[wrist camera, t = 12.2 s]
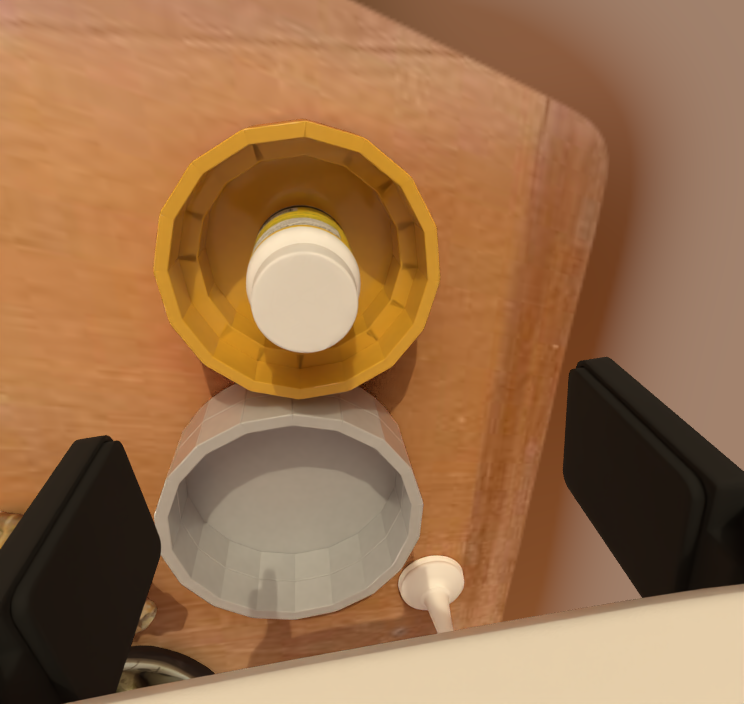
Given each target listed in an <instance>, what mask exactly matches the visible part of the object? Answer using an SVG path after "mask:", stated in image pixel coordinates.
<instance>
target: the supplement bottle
mask: <svg viewBox="0 0 744 704" xmlns="http://www.w3.org/2000/svg"><path fill="white" fill-rule="evenodd" d="M360 286H361V280H360V272H359V268H358V265H357V262H356V259H355V257H354V255H353V252H352V250H351V247H350V245H349V243H348V241H347V238H346V236H345V233H344V232H343V230H342V228H341V226H340V225H339V224H338V222H337V221H336V220H335V219H334V218H333V217H332V216H331V215H329V214H328V213H326V212H325V211H323V210H321V209H319V208H316V207H313V206H308V205H293V206H289V207H285V208H283V209H280V210H278V211H277V212H275V213H274V214H272V215H271V216H270V217H269V218H268V219H267V220H266V221H265V222H264V223H263V225H262V226H261V228H260V230H259V232H258V234H257V237H256V241H255V245H254V248H253V251H252V254H251V257H250V260H249V264H248V269H247V274H246V292H247V296H248V300H249V303H250V305H251V310H252V314H253V317H254V320H255V322H256V324H257V326H258V328H259V329H260V331H261V332H262V333H263V334H264V336H265V337H266V338H267V339H269V340H270V341H271V342H272V343H274V344H275V345H277V346H279V347H281V348H283V349H286V350H289V351H293V352H298V353H312V352H318V351H322V350H324V349H327V348H329V347H331V346H333V345H335V344H336V343H338V342H339V341H340V340H341V339H342V338H344V336H345V335H346V334H347V333H348V332H349V330H350V329H351V327H352V326H353V323H354V321H355V319H356V316H357V311H358V299H359V294H360Z"/></svg>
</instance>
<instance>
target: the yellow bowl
mask: <svg viewBox="0 0 744 704" xmlns="http://www.w3.org/2000/svg"><path fill="white" fill-rule="evenodd" d="M293 205H308V206H313V207H316V208H319V209H321V210H323V211H325V212H326V213H328V214H329V215H331V216H332V217H333V218H334V219H335V220H336V221H337V222H338V224H339V225H340V226H341V228H342V230H343V232H344V233H345V236H346V238H347V241H348V243H349V245H350V247H351V250H352V252H353V255H354V257H355V259H356V262H357V265H358V268H359V272H360V280H361V286H360V294H359V299H358V311H357V316H356V319H355V321H354V323H353V326H352V327H351V329H350V330H349V332H348V333H347V334H346V335H345V336H344V338H342V339H341V340H340V341H339V342H338V343H336V344H335V345H333V346H331V347H329V348H327V349H324V350H322V351H318V352H312V353H298V352H293V351H289V350H286V349H283V348H281V347H279V346H277V345H275V344H274V343H272V342H271V341H270V340H269V339H267V338H266V337H265V336H264V334H263V333H262V332H261V331H260V329H259V328H258V326H257V324H256V322H255V320H254V317H253V314H252V310H251V305H250V303H249V300H248V296H247V292H246V274H247V269H248V264H249V260H250V257H251V254H252V251H253V248H254V245H255V241H256V237H257V234H258V232H259V230H260V228H261V226H262V225H263V223H264V222H265V221H266V220H267V219H268V218H269V217H270V216H271V215H272V214H274V213H275V212H277V211H278V210H280V209H283V208H285V207H289V206H293ZM153 270H154V276H155V279H156V282H157V285H158V288H159V291H160V295H161V298H162V301H163V304H164V307H165V310H166V314H167V317H168V320H169V323H171V326H172V327H173V328H174V329H175V331H176V332H177V333H178V334H179V335H180V337H181V338H182V339H183V340H184V341H185V343H186V344H187V345H188V346H189V347H190V349H191V350H192V351H193V352H194V353H195V355H196V356H197V357H198V358H199V359H200V361H201V362H202V363H203V364H204V365H205V366H207V367H208V368H210V369H212V370H214V371H215V372H217V373H219V374H221V375H223V376H224V377H226V378H228V379H230V380H231V381H233V382H235V383H237V384H239V385H240V386H242V387H244V388H246V389H247V390H250V391H252V392H258V393H264V394H270V395H275V396H281V397H287V398H293V399H306V398H312V397H318V396H324V395H329V394H335V393H341V392H347V391H349V390H352V389H354V388H356V387H357V386H359V385H361V384H363V383H365V382H366V381H368V380H370V379H372V378H373V377H375V376H377V375H379V374H380V373H382V372H384V371H386V370H387V369H389V368H391V367H392V366H393V365H394V364H395V363H396V362H397V361H398V360H399V358H400V357H401V356H402V355H403V354H404V352H405V351H406V350H407V349H408V348H409V346H410V345H411V344H412V343H413V342H414V340H415V339H416V338H417V337H418V336H419V334H420V333H421V332H422V331H423V330H424V328H425V325H426V322H427V319H428V316H429V313H430V310H431V307H432V304H433V301H434V298H435V295H436V292H437V289H438V286H439V283H440V267H439V252H438V236H437V228H436V224H435V222H434V220H433V218H432V216H431V214H430V212H429V210H428V208H427V206H426V204H425V202H424V200H423V198H422V196H421V194H420V192H419V190H418V188H417V186H416V184H415V183H414V181H413V179H412V177H411V176H410V175H409V174H408V173H407V172H405V171H404V170H403V169H402V168H401V167H399V166H398V165H397V164H396V163H395V162H393V161H392V160H391V159H390V158H389V157H388V156H386V155H385V154H384V153H383V152H382V151H380V150H379V149H378V148H377V147H376V146H374V145H373V144H372V143H371V142H370V141H368V140H367V139H365V138H364V137H362V136H359V135H357V134H354V133H352V132H348V131H345V130H341V129H338V128H335V127H331V126H328V125H325V124H321V123H318V122H314V121H311V120H308V119H296V120H289V121H281V122H274V123H267V124H259V125H253V126H250V127H247V128H245V129H242V130H240V131H239V132H237V133H236V134H234V135H232V136H231V137H229V138H228V139H226V140H225V141H223V142H222V143H220V144H219V145H217V146H215V147H214V148H212V149H211V150H209V151H208V152H206V153H205V154H203V155H201V156H200V157H198V158H197V159H195V160H194V161H192V163H190V164H189V166H188V168H187V169H186V171H185V172H184V174H183V176H182V177H181V179H180V181H179V182H178V184H177V185H176V187H175V189H174V190H173V192H172V194H171V195H170V197H169V198H168V200H167V202H166V203H165V205H164V207H163V208H162V210H161V211H160V215H159V221H158V229H157V238H156V247H155V256H154V265H153Z"/></svg>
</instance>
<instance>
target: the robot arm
mask: <svg viewBox="0 0 744 704" xmlns="http://www.w3.org/2000/svg"><path fill="white" fill-rule="evenodd" d="M563 475H564V479H565V482H566V485H567V487H568V488H569V490H570V491H571V493H572V494H573V496H574V497H575V499H576V500H577V502H578V503H579V505H580V506H581V508H582V509H583V511H584V512H585V513H586V515H587V517H588V518H589V520H590V521H591V523H592V524H593V525H594V527H595V528H596V530H597V531H598V533H599V534H600V536H601V537H602V539H603V540H604V542H605V543H606V545H607V546H608V548H609V549H610V551H611V552H612V554H613V555H614V557H615V558H616V560H617V561H618V563H619V564H620V566H621V567H622V569H623V570H624V572H625V573H626V574H627V576H628V577H629V579H630V580H631V582H632V583H633V585H634V586H635V588H636V589H637V591H638V592H639V594H640V595H641V597H642V598H640V599H633V600H627V601H621V602H614V603H609V604H603V605H597V606H592V607H586V608H580V609H575V610H568V611H563V612H557V613H551V614H546V615H540V616H534V617H528V618H523V619H517V620H512V621H505V622H500V623H494V624H488V625H483V626H477V627H471V628H466V629H460V630H454V631H449V632H443V633H438V634H432V635H427V636H421V637H415V638H410V639H404V640H399V641H393V642H388V643H382V644H377V645H371V646H366V647H360V648H355V649H349V650H344V651H338V652H333V653H327V654H322V655H316V656H311V657H305V658H299V659H294V660H289V661H283V662H278V663H272V664H267V665H262V666H256V667H251V668H246V669H240V670H235V671H230V672H224V673H219V674H214V675H208V676H203V677H197V678H192V679H187V680H181V681H176V682H171V683H165V684H160V685H155V686H149V687H144V688H138V689H134V690H129V691H124V692H119V693H116V690H117V687H118V684H119V681H120V678H121V675H122V672H123V669H124V666H125V663H126V660H127V657H128V654H129V651H130V647H131V644H132V641H133V638H134V635H135V632H136V629H137V626H138V623H139V620H140V617H141V614H142V611H143V608H144V604H145V601H146V598H147V595H148V592H149V589H150V586H151V583H152V580H153V577H154V574H155V571H156V568H157V565H158V562H159V558H160V555H161V540H160V537H159V534H158V532H157V529H156V527H155V524H154V522H153V519H152V517H151V514H150V512H149V509H148V507H147V504H146V502H145V499H144V497H143V494H142V492H141V489H140V487H139V484H138V482H137V479H136V477H135V474H134V472H133V469H132V467H131V465H130V462H129V460H128V457H127V455H126V452H125V450H124V447H123V445H122V444H121V442H120V441H113V440H112V439H111V438H110V436H107V435H105V436H98V437H92V438H85V439H79V440H76V441H75V442H74V443H73V444H72V446H71V447H70V448H69V450H68V451H67V453H66V454H65V456H64V457H63V459H62V460H61V462H60V463H59V464H58V466H57V467H56V469H55V470H54V472H53V473H52V475H51V476H50V477H49V479H48V480H47V482H46V483H45V485H44V486H43V488H42V489H41V491H40V492H39V493H38V495H37V496H36V498H35V499H34V501H33V502H32V504H31V505H30V507H29V508H28V509H27V511H26V512H25V514H24V515H23V517H22V518H21V520H20V521H19V522H18V524H17V525H16V527H15V528H14V530H13V531H12V533H11V534H10V536H9V537H8V538H7V540H6V541H5V543H4V544H3V546H2V547H1V549H0V704H744V471H742V470H741V469H740V468H739V467H738V466H737V465H736V464H734V463H733V462H732V461H731V460H730V459H729V458H727V457H726V456H725V455H724V454H723V453H721V452H720V451H719V450H718V449H717V448H715V447H714V446H713V445H712V444H711V443H710V442H708V441H707V440H706V439H705V438H704V437H703V436H701V435H700V434H699V433H698V432H697V431H695V430H694V429H693V428H692V427H691V426H690V425H688V424H687V423H686V422H685V421H684V420H683V419H681V418H680V417H679V416H678V415H676V414H675V413H674V412H673V411H672V410H671V409H670V408H668V407H667V406H666V405H665V404H664V403H662V402H661V401H660V400H659V399H658V398H657V397H655V396H654V395H653V394H652V393H651V392H650V391H648V390H647V389H646V388H645V387H643V386H642V385H641V384H640V383H639V382H638V381H637V380H635V379H634V378H633V377H632V376H631V375H629V374H628V373H627V372H626V371H624V369H622V368H621V367H620V366H619V365H618V364H616V363H615V362H614V361H613V360H612V359H610V358H608V357H602V358H596V359H589V360H583V361H580V362H578V364H577V366H576V369H572V370H570V373H569V380H568V396H567V412H566V428H565V446H564V461H563Z"/></svg>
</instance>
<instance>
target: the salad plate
mask: <svg viewBox="0 0 744 704" xmlns="http://www.w3.org/2000/svg"><path fill="white" fill-rule="evenodd" d="M208 675H214V673H213V672H212V671H211V670H210V669H208V668H207V667H205V666H204V665H202V664H200V663H199V662H197V661H195V660H193V659H191V658H189V657H187V656H185V655H182V654H180V653H177V652H174V651H170V650H167V649H163V648H158V647H154V646H132V647H130V651H129V654H128V657H127V660H126V663H125V666H124V669H123V672H122V675H121V678H120V681H119V684H118V687H117V690H116V693H119V692H124V691H129V690H134V689H138V688H144V687H149V686H155V685H160V684H165V683H171V682H176V681H181V680H187V679H192V678H197V677H203V676H208Z"/></svg>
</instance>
